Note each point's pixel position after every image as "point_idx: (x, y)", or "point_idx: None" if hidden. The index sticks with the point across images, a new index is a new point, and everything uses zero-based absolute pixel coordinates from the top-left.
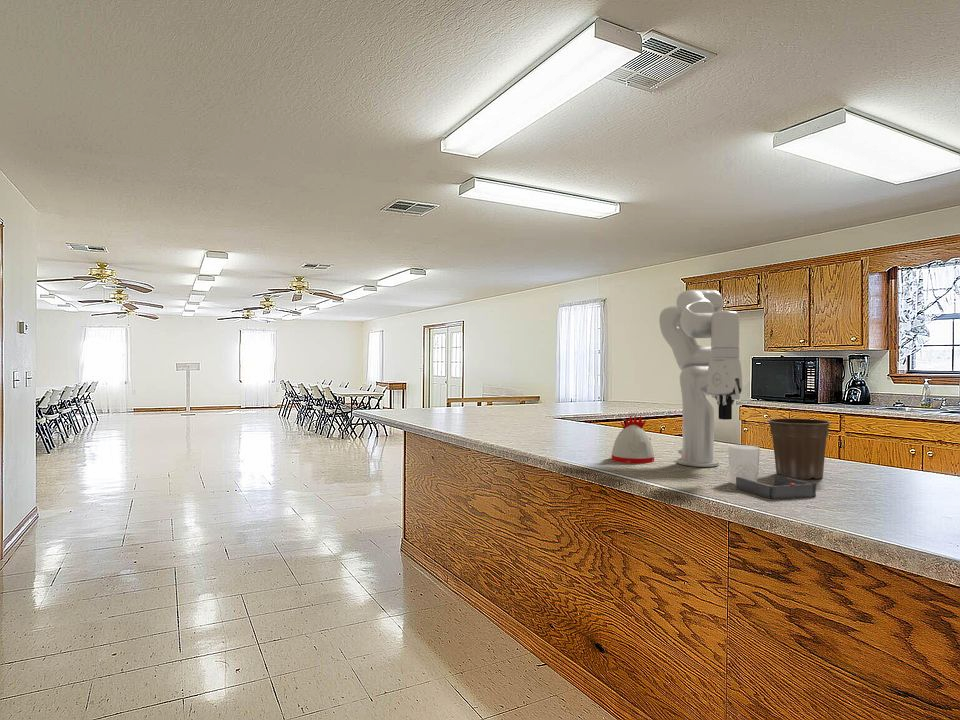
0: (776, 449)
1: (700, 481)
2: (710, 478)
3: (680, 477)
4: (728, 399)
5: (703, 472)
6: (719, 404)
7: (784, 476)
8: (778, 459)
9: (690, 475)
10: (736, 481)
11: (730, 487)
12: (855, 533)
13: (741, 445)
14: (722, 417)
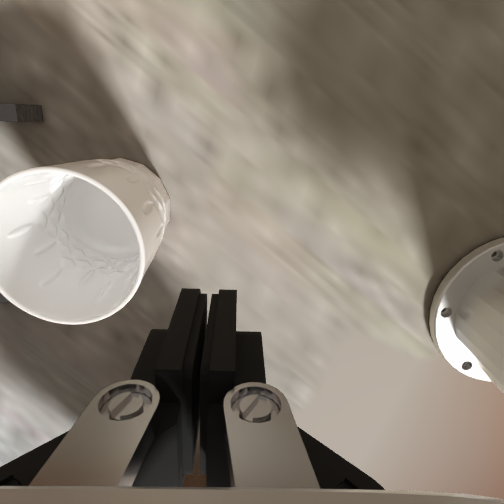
0: (203, 476)
1: (205, 63)
2: (246, 152)
3: (308, 34)
4: (16, 477)
5: (360, 212)
6: (231, 388)
7: (5, 301)
8: (198, 443)
9: (329, 113)
10: (22, 104)
11: (67, 101)
12: None
13: (132, 289)
14: (181, 296)
